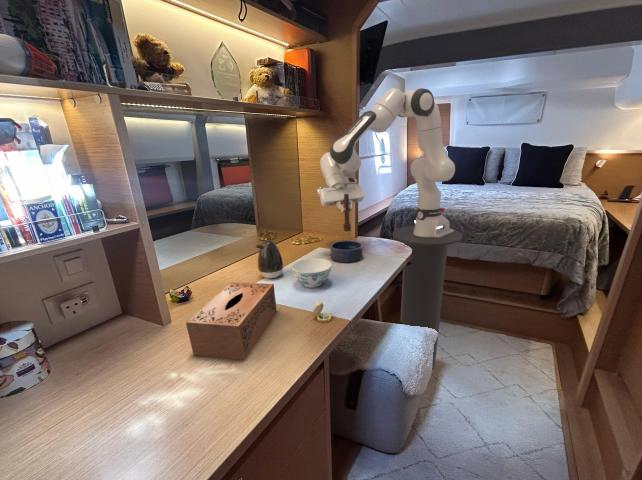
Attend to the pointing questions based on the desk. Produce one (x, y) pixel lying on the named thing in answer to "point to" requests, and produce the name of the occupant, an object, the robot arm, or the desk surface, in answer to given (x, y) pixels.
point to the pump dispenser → (269, 260)
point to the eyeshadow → (323, 316)
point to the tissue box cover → (232, 320)
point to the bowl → (346, 251)
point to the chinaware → (312, 271)
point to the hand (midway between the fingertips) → (347, 210)
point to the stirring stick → (346, 213)
